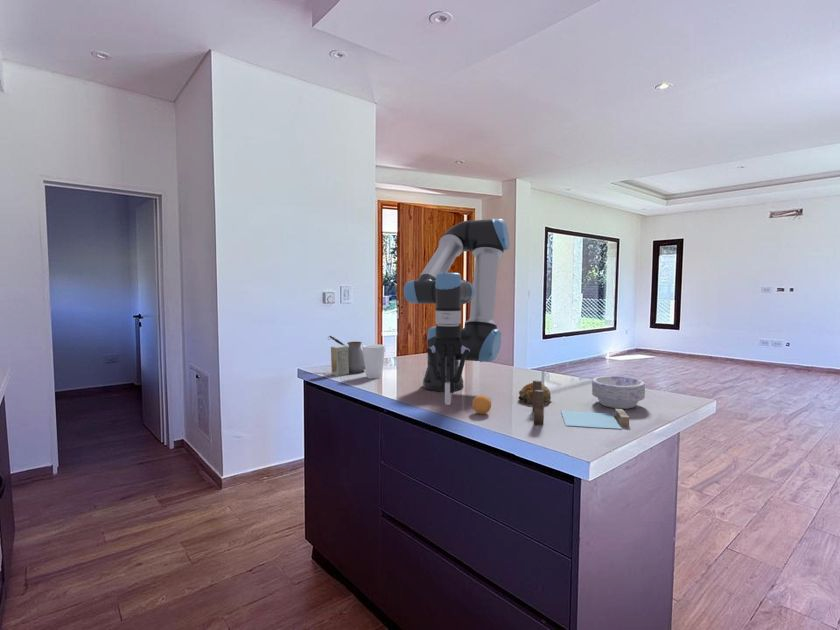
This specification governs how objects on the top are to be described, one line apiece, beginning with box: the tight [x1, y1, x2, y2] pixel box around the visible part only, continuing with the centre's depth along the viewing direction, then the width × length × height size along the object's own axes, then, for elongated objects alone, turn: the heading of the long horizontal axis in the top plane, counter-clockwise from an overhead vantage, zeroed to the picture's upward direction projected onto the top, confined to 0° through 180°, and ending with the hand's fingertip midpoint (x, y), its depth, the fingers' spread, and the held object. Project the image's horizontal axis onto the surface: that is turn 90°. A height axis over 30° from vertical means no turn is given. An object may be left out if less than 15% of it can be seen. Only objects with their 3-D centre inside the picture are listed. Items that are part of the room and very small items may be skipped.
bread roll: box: [518, 382, 552, 405], centre depth 145 cm, size 10×10×8 cm
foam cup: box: [361, 343, 386, 379], centre depth 184 cm, size 10×9×13 cm
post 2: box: [533, 390, 545, 426], centre depth 122 cm, size 3×3×9 cm
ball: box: [471, 394, 492, 415], centre depth 131 cm, size 6×6×6 cm
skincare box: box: [330, 344, 350, 377], centre depth 190 cm, size 6×4×12 cm
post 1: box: [532, 379, 543, 412], centre depth 134 cm, size 3×3×9 cm
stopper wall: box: [614, 408, 630, 427], centre depth 123 cm, size 8×2×2 cm, turn 167°
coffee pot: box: [327, 335, 366, 374], centre depth 200 cm, size 21×12×15 cm, turn 57°
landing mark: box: [560, 410, 622, 430], centre depth 125 cm, size 14×14×1 cm
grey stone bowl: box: [591, 375, 646, 410], centre depth 140 cm, size 15×15×8 cm
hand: (448, 403), depth 133 cm, fingers closed
